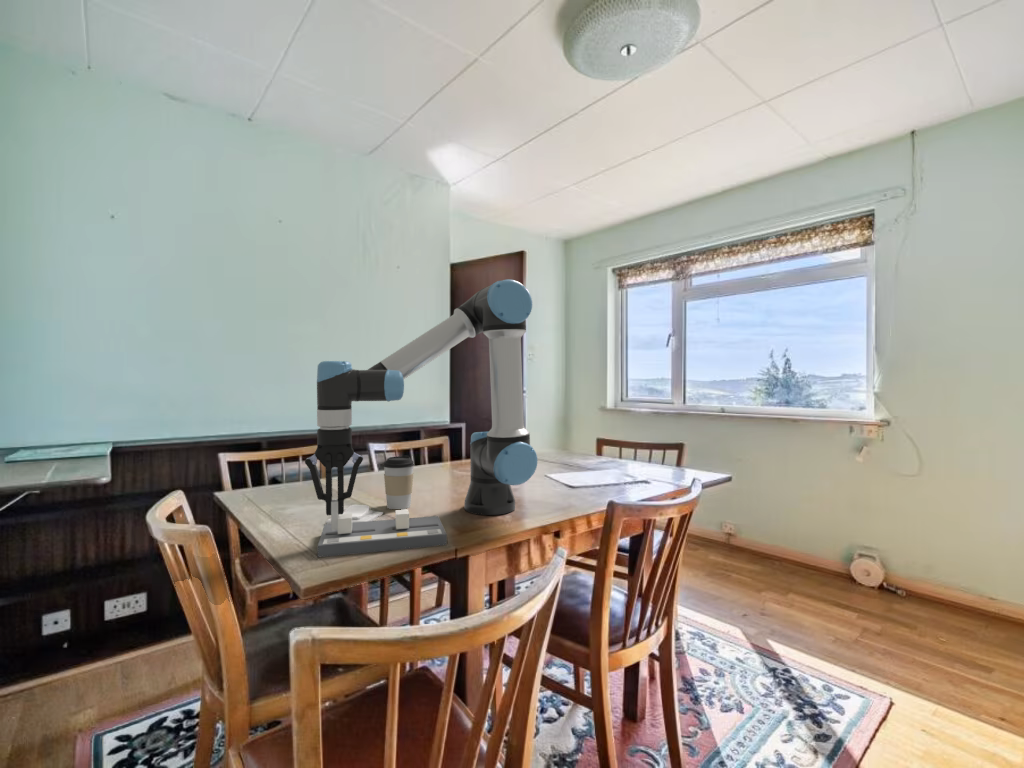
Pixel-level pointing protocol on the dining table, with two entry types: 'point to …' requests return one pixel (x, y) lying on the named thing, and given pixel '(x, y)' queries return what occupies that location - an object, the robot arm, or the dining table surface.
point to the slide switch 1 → (345, 523)
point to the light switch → (360, 513)
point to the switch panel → (382, 536)
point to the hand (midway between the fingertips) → (335, 528)
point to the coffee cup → (398, 481)
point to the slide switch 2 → (402, 519)
